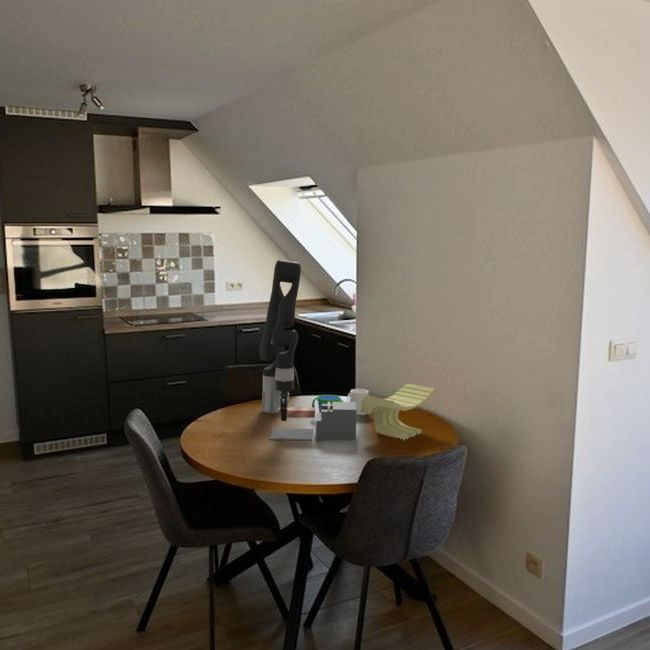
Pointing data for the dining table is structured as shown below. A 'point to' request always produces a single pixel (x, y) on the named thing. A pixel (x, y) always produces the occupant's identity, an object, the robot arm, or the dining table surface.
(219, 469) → the dining table surface
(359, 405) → the mug
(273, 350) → the robot arm
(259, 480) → the dining table surface
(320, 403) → the snack cup
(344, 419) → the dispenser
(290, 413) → the copper bar
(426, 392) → the slatted curved stool
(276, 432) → the mat
